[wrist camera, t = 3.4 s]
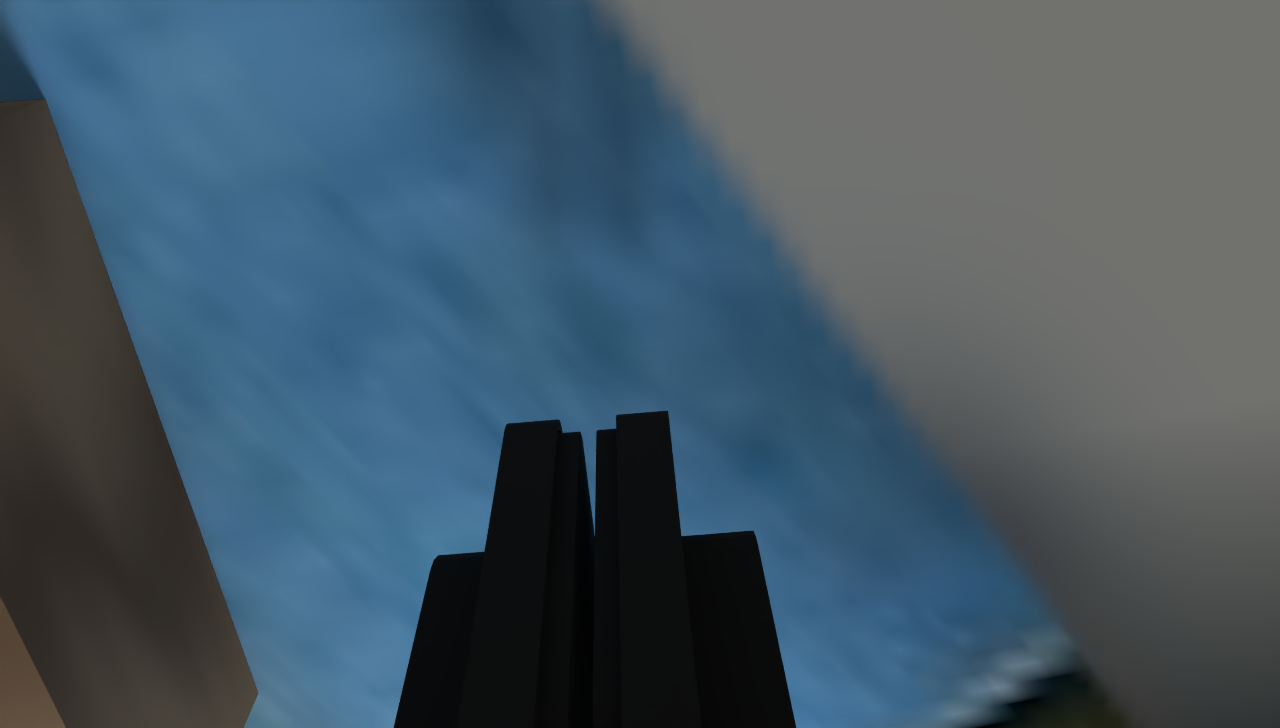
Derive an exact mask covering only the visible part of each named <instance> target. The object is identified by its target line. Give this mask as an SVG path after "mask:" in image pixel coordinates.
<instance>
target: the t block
mask: <svg viewBox="0 0 1280 728" xmlns="http://www.w3.org/2000/svg"><path fill="white" fill-rule="evenodd" d="M257 695H258V691H257V688H256V685H255V682H254V680H253V677H252V674H251V671H250V669H249V666H248V663H247V660H246V657H245V655H244V652H243V649H242V646H241V643H240V641H239V638H238V635H237V632H236V629H235V627H234V624H233V621H232V618H231V616H230V613H229V610H228V607H227V604H226V602H225V599H224V596H223V593H222V590H221V588H220V585H219V582H218V579H217V577H216V574H215V571H214V568H213V565H212V563H211V560H210V557H209V554H208V551H207V549H206V546H205V543H204V540H203V537H202V535H201V532H200V529H199V526H198V524H197V521H196V518H195V515H194V512H193V510H192V507H191V504H190V501H189V498H188V496H187V493H186V490H185V487H184V485H183V482H182V479H181V476H180V473H179V471H178V468H177V465H176V462H175V459H174V457H173V454H172V451H171V448H170V446H169V443H168V440H167V437H166V434H165V432H164V429H163V426H162V423H161V420H160V418H159V415H158V412H157V409H156V406H155V404H154V401H153V398H152V395H151V393H150V390H149V387H148V384H147V381H146V379H145V376H144V373H143V370H142V367H141V365H140V362H139V359H138V356H137V354H136V351H135V348H134V345H133V342H132V340H131V337H130V334H129V331H128V328H127V326H126V323H125V320H124V317H123V314H122V312H121V309H120V306H119V303H118V301H117V298H116V295H115V292H114V289H113V287H112V284H111V281H110V278H109V275H108V273H107V270H106V267H105V264H104V262H103V259H102V256H101V253H100V250H99V248H98V245H97V242H96V239H95V236H94V234H93V231H92V228H91V225H90V222H89V220H88V217H87V214H86V211H85V209H84V206H83V203H82V200H81V197H80V195H79V192H78V189H77V186H76V183H75V181H74V178H73V175H72V172H71V170H70V167H69V164H68V161H67V158H66V156H65V153H64V150H63V147H62V144H61V142H60V139H59V136H58V133H57V131H56V128H55V125H54V122H53V119H52V117H51V114H50V111H49V108H48V105H47V103H46V100H45V99H36V100H24V101H11V102H0V728H244V725H245V723H246V721H247V718H248V716H249V714H250V711H251V709H252V707H253V704H254V702H255V700H256V697H257Z"/></svg>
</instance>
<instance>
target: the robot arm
mask: <svg viewBox="0 0 1280 728" xmlns="http://www.w3.org/2000/svg"><path fill="white" fill-rule="evenodd" d="M394 728H796V725H795V720H794V715H793V710H792V705H791V701H790V696H789V691H788V686H787V682H786V677H785V672H784V667H783V662H782V658H781V653H780V648H779V643H778V639H777V634H776V629H775V624H774V619H773V615H772V610H771V605H770V600H769V596H768V591H767V586H766V581H765V576H764V572H763V567H762V562H761V557H760V553H759V548H758V544H757V540H756V536H755V533H754V531H743V532H730V533H717V534H705V535H692V536H681V529H680V519H679V510H678V500H677V491H676V481H675V472H674V462H673V453H672V443H671V434H670V424H669V415H668V411H659V412H646V413H634V414H621V415H616V429H607V430H597V435H596V501H595V535H594V527H593V519H592V511H591V503H590V495H589V487H588V479H587V471H586V463H585V455H584V447H583V440H582V435H581V432H570V433H563V432H562V427H561V423H560V420H546V421H534V422H521V423H509V424H507V425H506V427H505V431H504V437H503V443H502V449H501V455H500V461H499V467H498V473H497V479H496V486H495V492H494V498H493V504H492V510H491V516H490V522H489V528H488V534H487V540H486V546H485V552H476V553H463V554H450V555H438V556H437V557H436V558H435V559H434V561H433V564H432V567H431V570H430V574H429V578H428V582H427V586H426V591H425V595H424V599H423V604H422V608H421V612H420V617H419V621H418V625H417V629H416V634H415V638H414V642H413V647H412V651H411V655H410V660H409V664H408V668H407V672H406V677H405V681H404V685H403V690H402V694H401V698H400V703H399V707H398V711H397V715H396V720H395V724H394Z"/></svg>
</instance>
